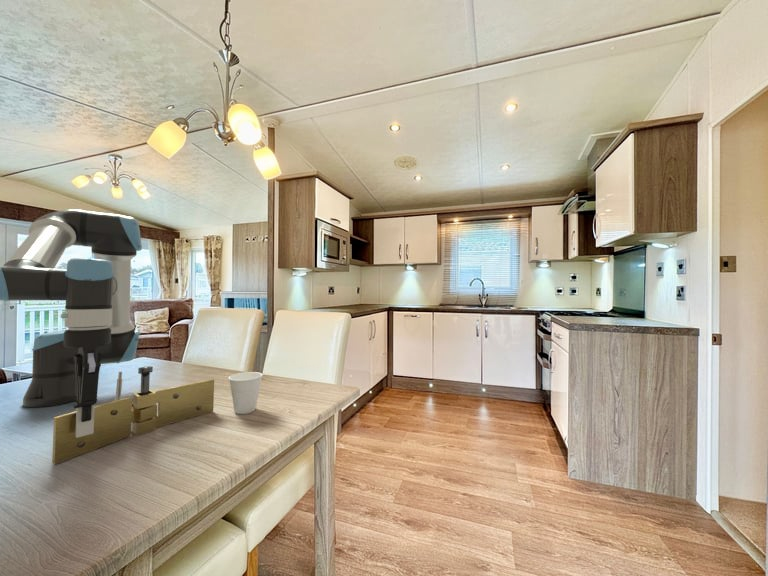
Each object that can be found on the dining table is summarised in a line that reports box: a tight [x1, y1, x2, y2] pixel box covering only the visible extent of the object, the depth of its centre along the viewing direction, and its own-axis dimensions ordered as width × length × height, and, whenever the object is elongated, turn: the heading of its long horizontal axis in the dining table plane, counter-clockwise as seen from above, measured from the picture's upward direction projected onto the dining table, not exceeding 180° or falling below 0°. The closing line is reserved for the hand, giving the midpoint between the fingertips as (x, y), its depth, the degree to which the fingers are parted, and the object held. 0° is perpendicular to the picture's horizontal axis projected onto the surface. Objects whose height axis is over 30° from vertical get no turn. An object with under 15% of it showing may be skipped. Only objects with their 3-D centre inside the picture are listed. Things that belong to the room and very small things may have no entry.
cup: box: [228, 371, 264, 415], centre depth 94 cm, size 10×10×11 cm
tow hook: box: [113, 371, 134, 407], centre depth 93 cm, size 8×13×9 cm
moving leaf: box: [51, 396, 158, 465], centre depth 72 cm, size 4×19×10 cm, turn 158°
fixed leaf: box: [131, 378, 215, 437], centre depth 85 cm, size 4×19×10 cm, turn 142°
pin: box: [138, 365, 154, 409], centre depth 80 cm, size 3×3×11 cm
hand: (84, 434), depth 66 cm, fingers closed
